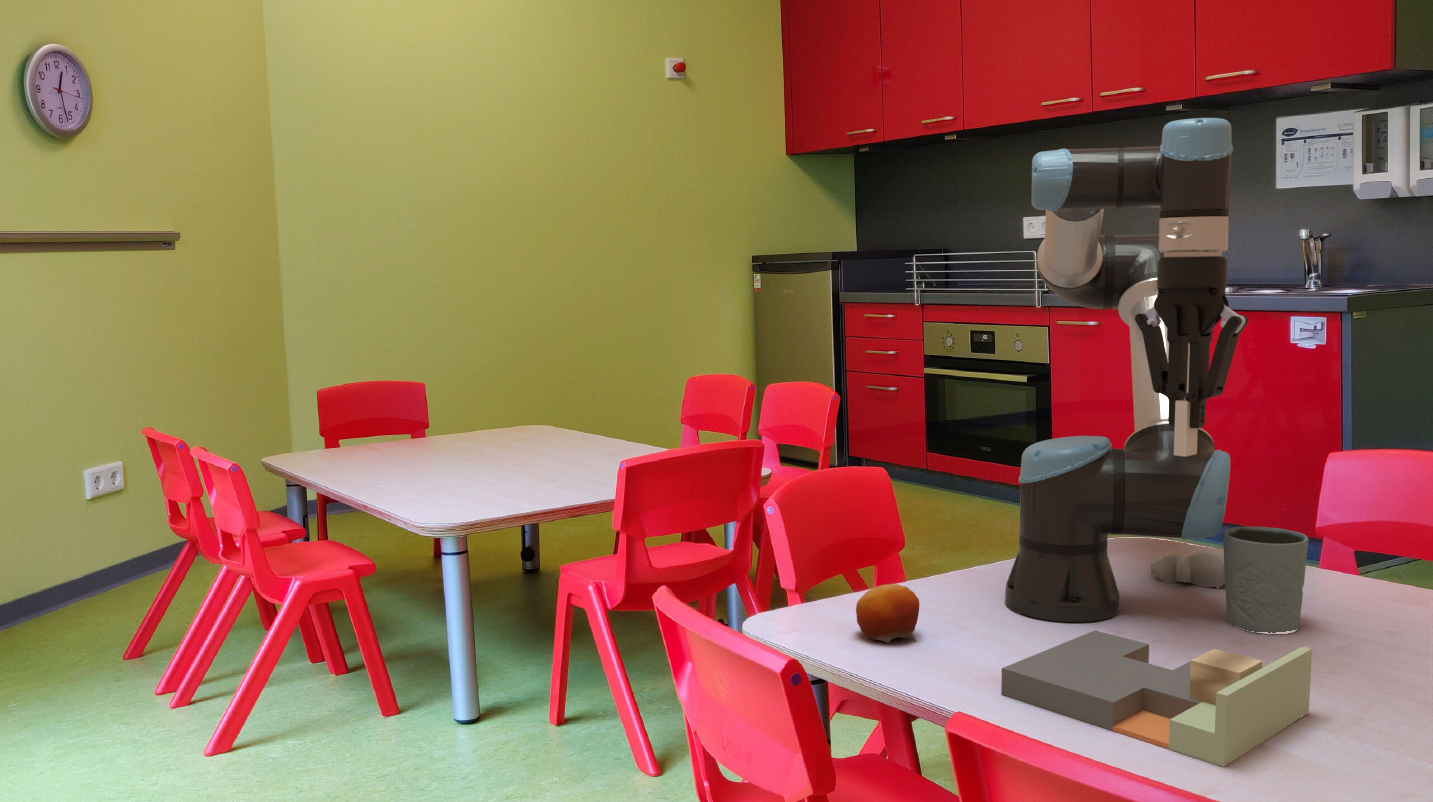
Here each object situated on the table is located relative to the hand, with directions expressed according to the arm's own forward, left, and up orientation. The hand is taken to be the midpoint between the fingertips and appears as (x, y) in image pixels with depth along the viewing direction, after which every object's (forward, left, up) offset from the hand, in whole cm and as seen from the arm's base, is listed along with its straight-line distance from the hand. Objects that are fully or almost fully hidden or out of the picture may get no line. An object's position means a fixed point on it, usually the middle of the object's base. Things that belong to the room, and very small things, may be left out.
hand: (1185, 454), depth 137 cm
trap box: (+6, -18, -24) cm, 31 cm away
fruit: (-28, -21, -25) cm, 43 cm away
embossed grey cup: (+2, +18, -25) cm, 31 cm away
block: (+14, -18, -21) cm, 31 cm away
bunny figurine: (-12, +31, -25) cm, 41 cm away
